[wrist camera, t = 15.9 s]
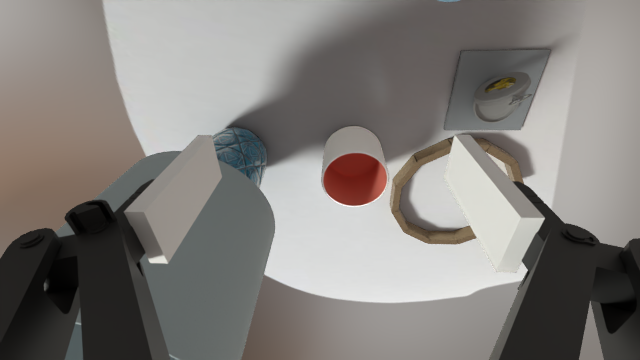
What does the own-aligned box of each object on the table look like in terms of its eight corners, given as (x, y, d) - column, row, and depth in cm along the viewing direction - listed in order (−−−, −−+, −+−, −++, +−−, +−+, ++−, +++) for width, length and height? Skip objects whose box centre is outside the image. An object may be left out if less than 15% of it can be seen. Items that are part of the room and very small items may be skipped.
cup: (382, 122, 48) (391, 149, 40) (379, 173, 53) (386, 206, 45) (322, 124, 49) (319, 152, 40) (325, 174, 54) (323, 207, 46)
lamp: (306, 184, 56) (263, 437, 24) (215, 199, 59) (73, 438, 27) (275, 85, 46) (133, 299, 14) (167, 110, 49) (-142, 327, 17)
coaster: (461, 50, 41) (462, 51, 41) (548, 49, 41) (551, 49, 40) (443, 128, 48) (444, 130, 47) (518, 128, 47) (520, 129, 47)
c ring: (398, 138, 49) (401, 145, 47) (534, 138, 48) (543, 145, 46) (385, 234, 62) (387, 242, 60) (493, 236, 60) (499, 245, 58)
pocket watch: (496, 127, 47) (530, 157, 38) (453, 106, 45) (478, 132, 37) (536, 80, 42) (584, 102, 34) (489, 55, 41) (528, 71, 33)
